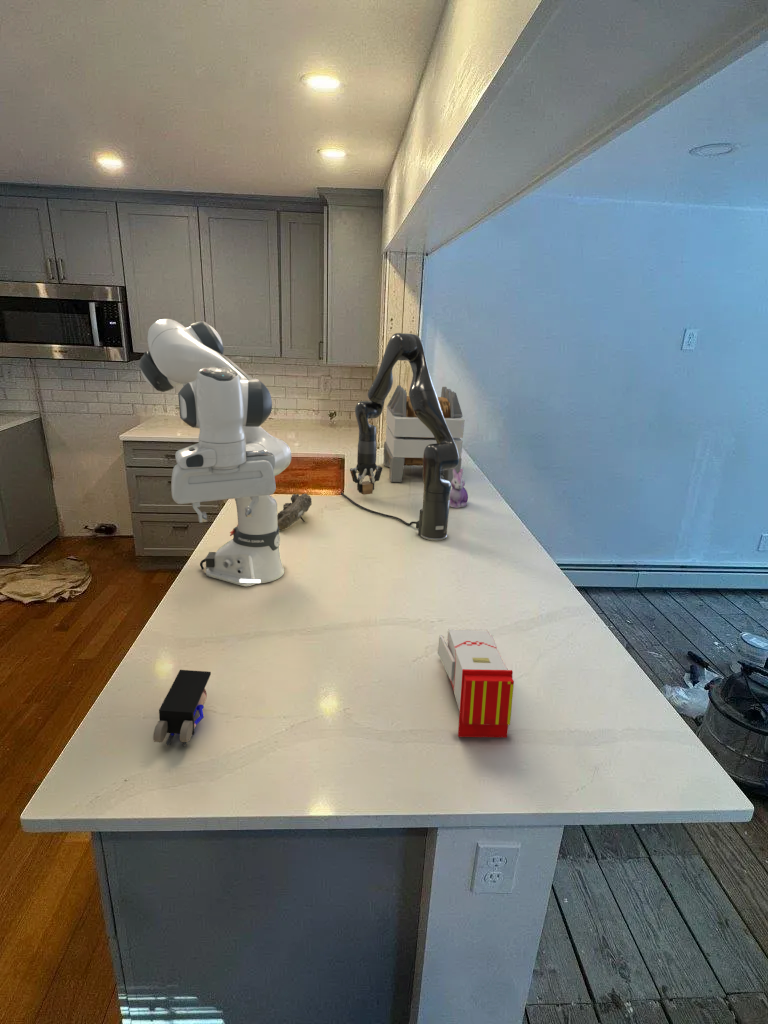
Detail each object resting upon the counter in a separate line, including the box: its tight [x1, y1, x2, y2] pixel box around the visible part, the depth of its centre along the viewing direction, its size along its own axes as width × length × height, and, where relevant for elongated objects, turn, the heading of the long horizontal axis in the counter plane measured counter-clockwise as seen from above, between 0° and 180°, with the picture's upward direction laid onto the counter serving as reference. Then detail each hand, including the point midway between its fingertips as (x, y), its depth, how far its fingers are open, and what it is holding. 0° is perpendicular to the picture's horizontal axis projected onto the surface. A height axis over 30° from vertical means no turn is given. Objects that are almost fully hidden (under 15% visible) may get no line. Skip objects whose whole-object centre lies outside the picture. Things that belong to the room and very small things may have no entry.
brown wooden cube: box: [360, 480, 374, 496], centre depth 232 cm, size 4×4×4 cm
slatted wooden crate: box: [383, 384, 465, 483], centre depth 268 cm, size 34×33×41 cm
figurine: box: [449, 468, 469, 509], centre depth 230 cm, size 9×10×15 cm
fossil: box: [277, 493, 313, 531], centre depth 205 cm, size 22×10×15 cm
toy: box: [437, 628, 515, 738], centre depth 117 cm, size 12×13×30 cm
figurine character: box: [152, 669, 212, 747], centre depth 104 cm, size 7×8×15 cm
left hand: (226, 518), depth 116 cm, fingers open, 8 cm apart
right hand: (365, 491), depth 232 cm, fingers closed on brown wooden cube, 4 cm apart
